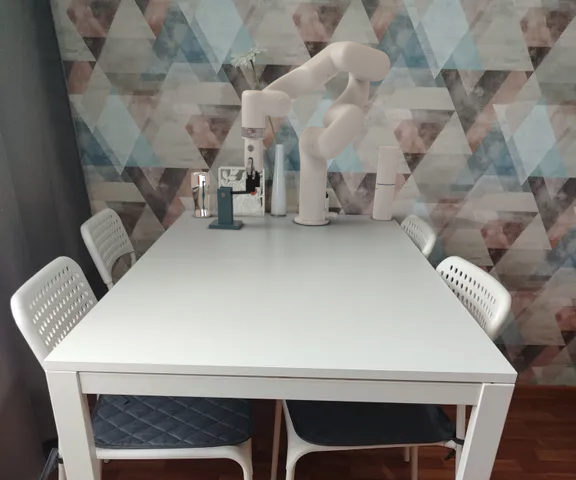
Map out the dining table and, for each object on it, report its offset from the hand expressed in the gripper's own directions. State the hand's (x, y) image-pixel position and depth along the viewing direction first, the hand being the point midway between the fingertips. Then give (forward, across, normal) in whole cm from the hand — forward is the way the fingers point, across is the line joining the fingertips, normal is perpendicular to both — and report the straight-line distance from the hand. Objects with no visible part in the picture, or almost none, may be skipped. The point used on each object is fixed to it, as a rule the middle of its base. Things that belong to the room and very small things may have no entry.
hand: (253, 189), depth 184 cm
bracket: (+13, 0, +10) cm, 16 cm away
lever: (+3, 0, +5) cm, 6 cm away
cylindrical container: (+12, +25, -46) cm, 53 cm away
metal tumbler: (+13, +14, +22) cm, 29 cm away
